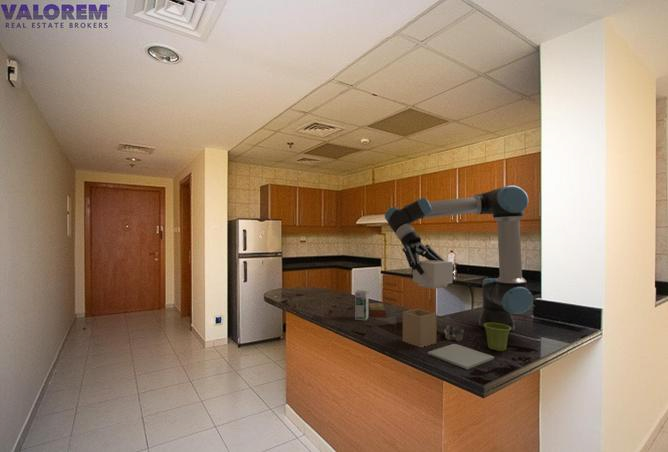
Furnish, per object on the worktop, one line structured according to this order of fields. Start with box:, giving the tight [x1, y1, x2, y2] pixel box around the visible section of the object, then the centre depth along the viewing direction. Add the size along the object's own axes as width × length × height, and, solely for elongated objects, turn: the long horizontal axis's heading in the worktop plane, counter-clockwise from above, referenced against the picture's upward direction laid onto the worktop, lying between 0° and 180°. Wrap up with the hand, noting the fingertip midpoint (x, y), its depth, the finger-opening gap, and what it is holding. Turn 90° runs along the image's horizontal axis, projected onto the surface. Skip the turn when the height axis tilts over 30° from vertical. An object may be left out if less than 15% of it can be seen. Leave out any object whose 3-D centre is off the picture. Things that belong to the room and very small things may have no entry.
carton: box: [368, 302, 387, 318], centre depth 178 cm, size 8×16×4 cm, turn 179°
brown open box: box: [402, 308, 437, 349], centre depth 131 cm, size 9×9×12 cm
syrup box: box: [354, 289, 369, 322], centre depth 166 cm, size 6×6×14 cm
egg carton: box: [443, 324, 465, 342], centre depth 138 cm, size 11×8×4 cm
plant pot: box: [484, 323, 511, 352], centre depth 124 cm, size 9×9×9 cm
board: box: [427, 343, 495, 370], centre depth 116 cm, size 16×16×1 cm
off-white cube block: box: [412, 259, 454, 290], centre depth 125 cm, size 10×10×10 cm
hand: (438, 279), depth 122 cm, fingers closed on off-white cube block, 10 cm apart
